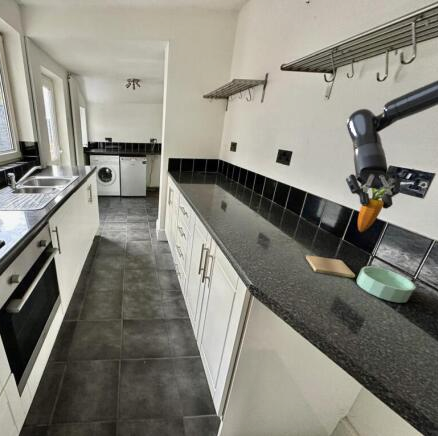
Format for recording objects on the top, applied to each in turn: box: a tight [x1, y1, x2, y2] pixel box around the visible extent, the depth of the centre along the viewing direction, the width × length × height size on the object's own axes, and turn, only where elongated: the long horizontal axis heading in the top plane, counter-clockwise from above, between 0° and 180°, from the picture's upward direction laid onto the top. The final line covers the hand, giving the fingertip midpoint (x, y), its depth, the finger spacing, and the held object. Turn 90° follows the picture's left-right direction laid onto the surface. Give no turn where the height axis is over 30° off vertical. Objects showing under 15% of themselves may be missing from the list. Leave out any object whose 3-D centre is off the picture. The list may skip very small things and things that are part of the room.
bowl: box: [356, 265, 417, 304], centre depth 74 cm, size 12×12×5 cm
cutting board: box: [305, 254, 356, 279], centre depth 86 cm, size 12×10×1 cm
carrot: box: [357, 188, 386, 233], centre depth 73 cm, size 5×5×15 cm
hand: (376, 206), depth 71 cm, fingers closed on carrot, 5 cm apart
